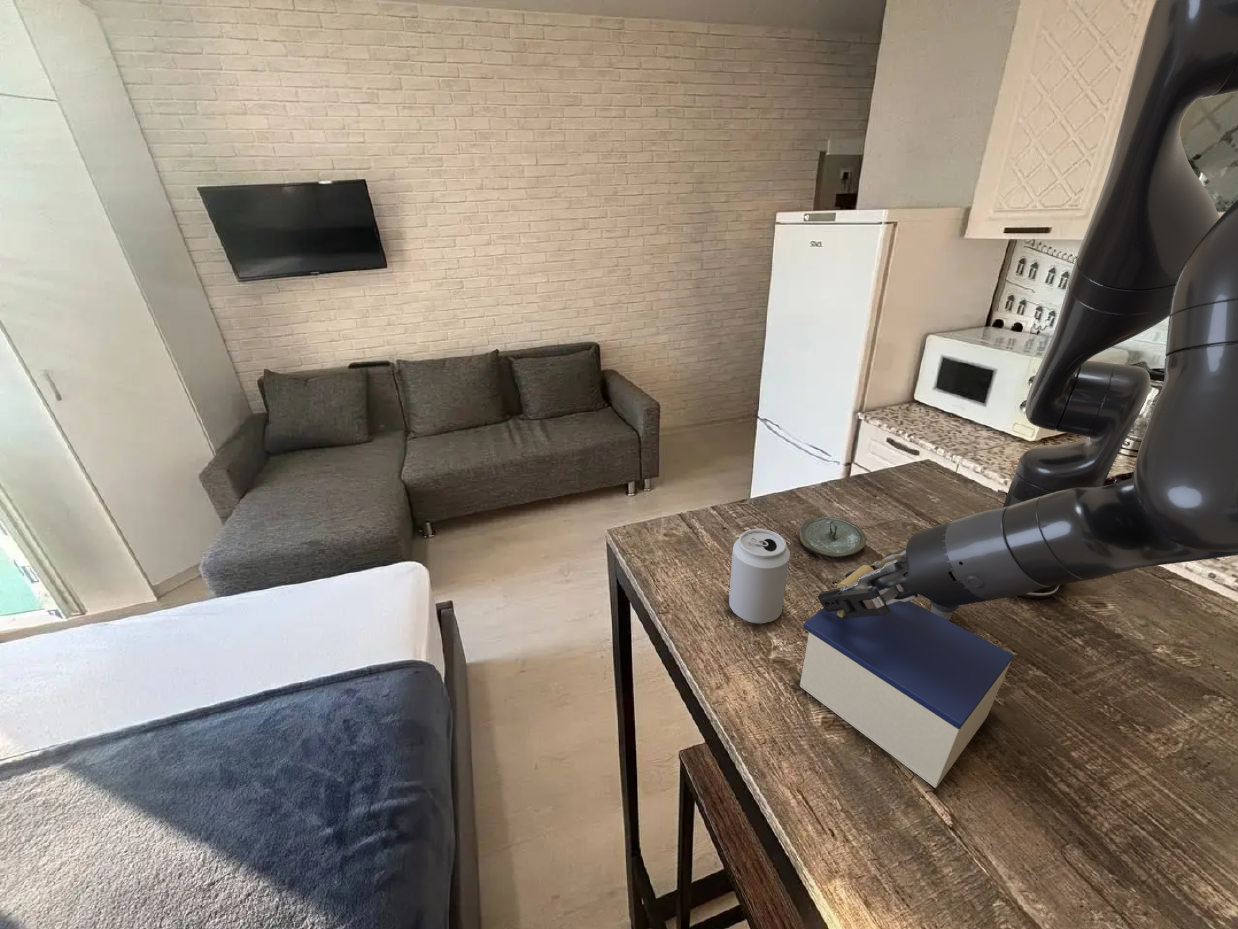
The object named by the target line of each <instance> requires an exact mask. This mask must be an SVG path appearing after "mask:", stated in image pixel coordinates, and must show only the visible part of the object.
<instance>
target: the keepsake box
mask: <svg viewBox="0 0 1238 929" xmlns="http://www.w3.org/2000/svg"><path fill="white" fill-rule="evenodd" d="M1011 663H1012V661H1011V662H1010V663H1009V664H1008V666H1007V667H1006V668H1005V670H1004V671H1003V672H1002V674H1001V675H1000V676H999V678H998V679H997V680H996V682H995V683H994V684H993V686H992V687H991V688H990V690H989V691H988V692H987V694H986V695H985V696H984V698H983V699H982V700H981V702H980V703H979V704H978V706H977V707H976V708H975V710H974V711H973V712H972V714H971V715H970V716H969V718H968V719H967V720H966V722H965V723H964V724H963V726H962V727H961V728H960V729H957V728H956V727H954V726H953V725H951V724H950V723H948V722H947V721H945V720H943V719H942V718H940V717H939V716H937V715H936V714H934V713H933V712H931V711H930V710H928V709H927V708H925V707H924V706H922V705H920V704H919V703H917V702H916V701H914V700H913V699H911V698H910V697H908V696H907V695H905V694H904V693H902V692H900V691H899V690H897V689H896V688H894V687H893V686H891V685H890V684H888V683H887V682H885V681H884V680H882V679H881V678H879V677H877V676H876V675H874V674H873V673H871V672H870V671H868V670H867V669H865V668H864V667H862V666H861V665H859V664H858V663H856V662H854V661H853V660H851V659H850V658H848V657H847V656H845V655H844V654H842V653H841V652H839V651H838V650H836V649H835V648H833V647H831V646H830V645H828V644H827V643H825V642H824V641H822V640H821V639H819V638H818V637H816V636H815V635H813V634H812V633H810V632H809V633H808V637H807V642H806V649H805V653H804V660H803V666H802V671H801V677H800V682H799V687H800V688H801V689H802V690H804V691H806V693H808V694H809V695H811V696H812V697H813V698H814V699H816V700H817V701H819V702H820V703H821V704H822V705H824V706H825V707H826V708H828V709H829V710H830V711H832V712H833V713H834V714H835V715H838V717H840V718H841V719H843V720H844V721H845V722H846V723H848V724H849V725H851V727H853V728H854V729H855V730H857V731H858V732H860V733H861V734H862V735H864V736H865V737H866V738H868V739H869V740H871V741H872V742H873V743H874V744H876V745H877V746H878V747H880V748H881V749H883V750H884V751H885V752H887V754H889V755H891V756H892V757H893V758H894V759H896V760H897V761H898V762H900V763H901V764H903V765H904V766H905V767H907V769H909V770H911V771H912V772H913V773H915V774H916V775H917V776H919V777H920V778H921V779H922V780H923V781H925V782H926V783H928V784H929V785H930V786H932V787H933V788H934V789H937V787H938V786H939V785H940V784H941V782H942V780H943V779H944V778H945V776H946V775H947V773H948V772H949V771H950V769H951V768H952V766H954V764H955V763H956V761H957V759H958V758H959V757H960V756H961V754H962V752H963V751H964V750H965V748H966V747H967V746H968V744H969V743H970V741H971V740H972V739H973V738H974V736H975V735H976V733H977V732H978V730H979V729H980V727H981V726H982V725H983V723H984V722H985V721H986V719H987V717H988V715H989V713H990V711H991V709H992V707H993V704H994V701H995V699H996V698H997V695H998V693H999V690H1000V688H1001V686H1002V683H1003V682H1004V679H1005V676H1006V674H1007V672H1008V670H1009V667H1010V665H1011Z"/></svg>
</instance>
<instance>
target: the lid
mask: <svg viewBox="0 0 1238 929" xmlns="http://www.w3.org/2000/svg"><path fill="white" fill-rule="evenodd" d="M798 536H799V540H800V543H801V544H802V545H803V546H804V547H805V548H806V549H808V550H810V551H812V552H813V553H815V554H818V555H822V556H826V557H831V558H842V557H848V556H852V555H855V554H858V553H859V552H860V551H861V550H863V548H864V547H866V544H867V536H866V534H865V533H864V531H863V529H862V528H860V527H859V526H858V525H856V524H855V523H852V522H851V521H848V520H846V519H844V518H841V517H834V516H819V517H813V518H810V519H807V520H806V521H805V522H803V523H802V524H801V526H800V528H799V535H798Z"/></svg>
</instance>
